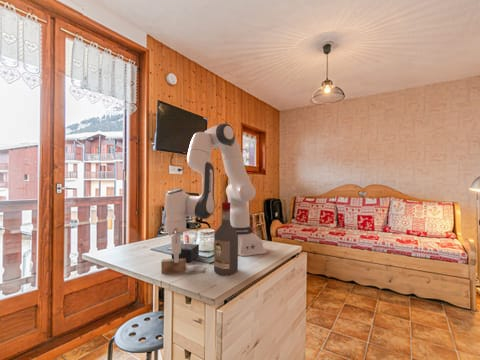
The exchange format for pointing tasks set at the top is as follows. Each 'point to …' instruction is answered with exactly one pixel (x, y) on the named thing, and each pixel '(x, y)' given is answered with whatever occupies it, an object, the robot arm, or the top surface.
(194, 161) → the robot arm
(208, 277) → the top surface
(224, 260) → the liquor
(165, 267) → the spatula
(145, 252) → the top surface
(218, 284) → the top surface
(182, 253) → the small box
